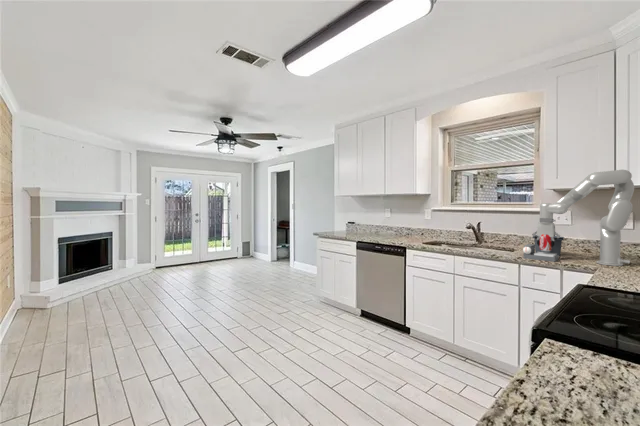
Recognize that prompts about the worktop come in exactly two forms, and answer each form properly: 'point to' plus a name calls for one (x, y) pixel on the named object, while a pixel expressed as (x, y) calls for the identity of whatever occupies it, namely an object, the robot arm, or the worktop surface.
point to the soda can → (545, 242)
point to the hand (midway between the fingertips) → (545, 246)
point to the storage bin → (555, 248)
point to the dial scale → (538, 254)
